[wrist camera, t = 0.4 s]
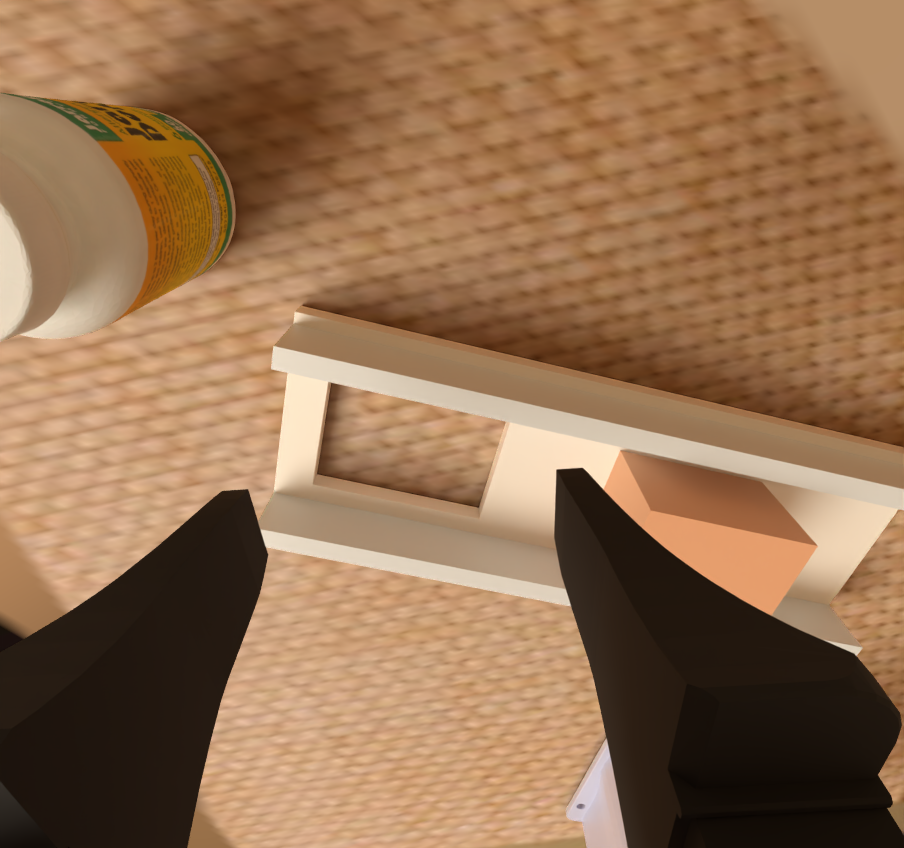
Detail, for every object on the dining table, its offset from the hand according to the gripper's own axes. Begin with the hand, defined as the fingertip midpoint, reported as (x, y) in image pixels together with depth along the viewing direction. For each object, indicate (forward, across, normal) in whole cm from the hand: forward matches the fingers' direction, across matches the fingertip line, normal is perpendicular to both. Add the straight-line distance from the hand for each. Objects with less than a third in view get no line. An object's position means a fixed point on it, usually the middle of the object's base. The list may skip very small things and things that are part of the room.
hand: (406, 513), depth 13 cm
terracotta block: (+8, -10, +7) cm, 14 cm away
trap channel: (+9, -7, +6) cm, 13 cm away
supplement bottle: (+10, +8, -6) cm, 14 cm away
